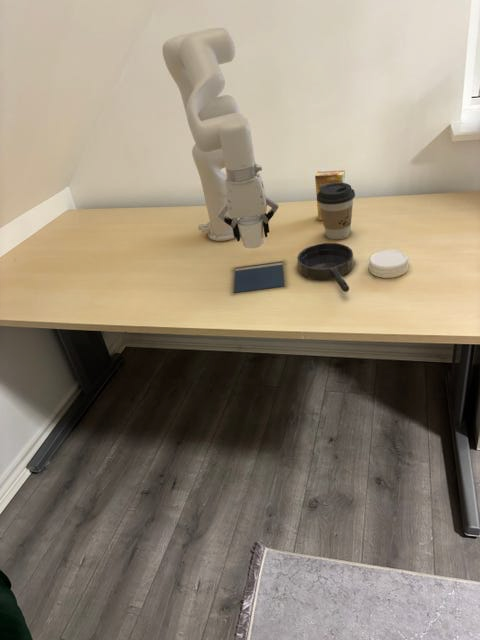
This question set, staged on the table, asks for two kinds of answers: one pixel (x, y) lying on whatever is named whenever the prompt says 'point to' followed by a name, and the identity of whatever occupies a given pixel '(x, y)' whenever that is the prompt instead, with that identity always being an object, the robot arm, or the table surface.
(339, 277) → the pan handle
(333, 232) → the coffee cup
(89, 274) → the table surface
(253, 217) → the white cup
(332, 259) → the pan
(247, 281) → the cloth
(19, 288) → the table surface
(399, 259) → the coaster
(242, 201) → the robot arm
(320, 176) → the candy box
